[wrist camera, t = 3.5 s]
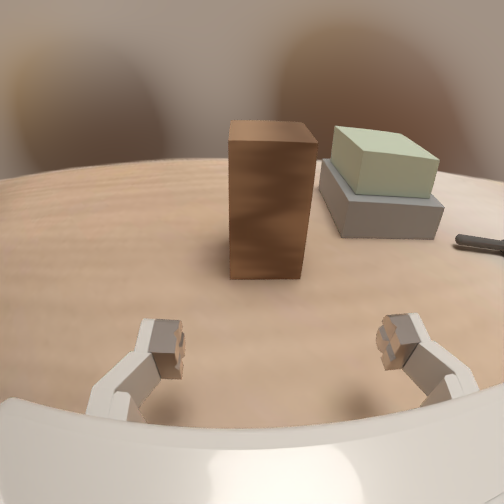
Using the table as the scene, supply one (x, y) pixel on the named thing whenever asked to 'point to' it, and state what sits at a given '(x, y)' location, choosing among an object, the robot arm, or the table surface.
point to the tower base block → (377, 211)
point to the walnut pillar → (269, 197)
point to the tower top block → (383, 163)
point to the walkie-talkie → (480, 242)
